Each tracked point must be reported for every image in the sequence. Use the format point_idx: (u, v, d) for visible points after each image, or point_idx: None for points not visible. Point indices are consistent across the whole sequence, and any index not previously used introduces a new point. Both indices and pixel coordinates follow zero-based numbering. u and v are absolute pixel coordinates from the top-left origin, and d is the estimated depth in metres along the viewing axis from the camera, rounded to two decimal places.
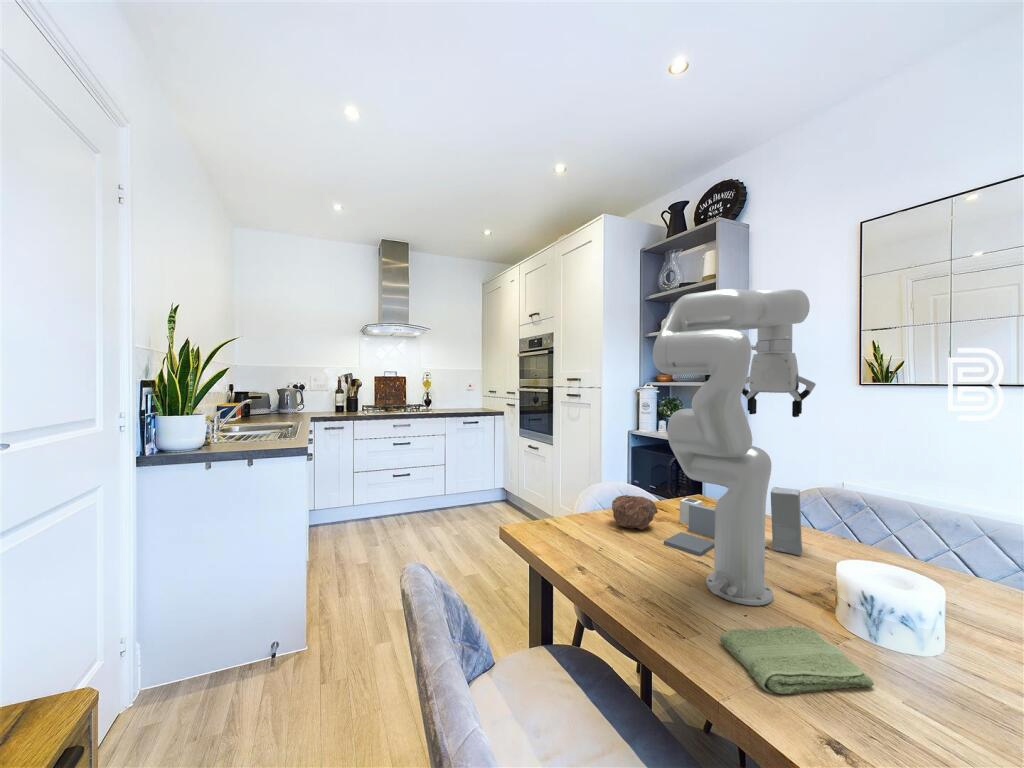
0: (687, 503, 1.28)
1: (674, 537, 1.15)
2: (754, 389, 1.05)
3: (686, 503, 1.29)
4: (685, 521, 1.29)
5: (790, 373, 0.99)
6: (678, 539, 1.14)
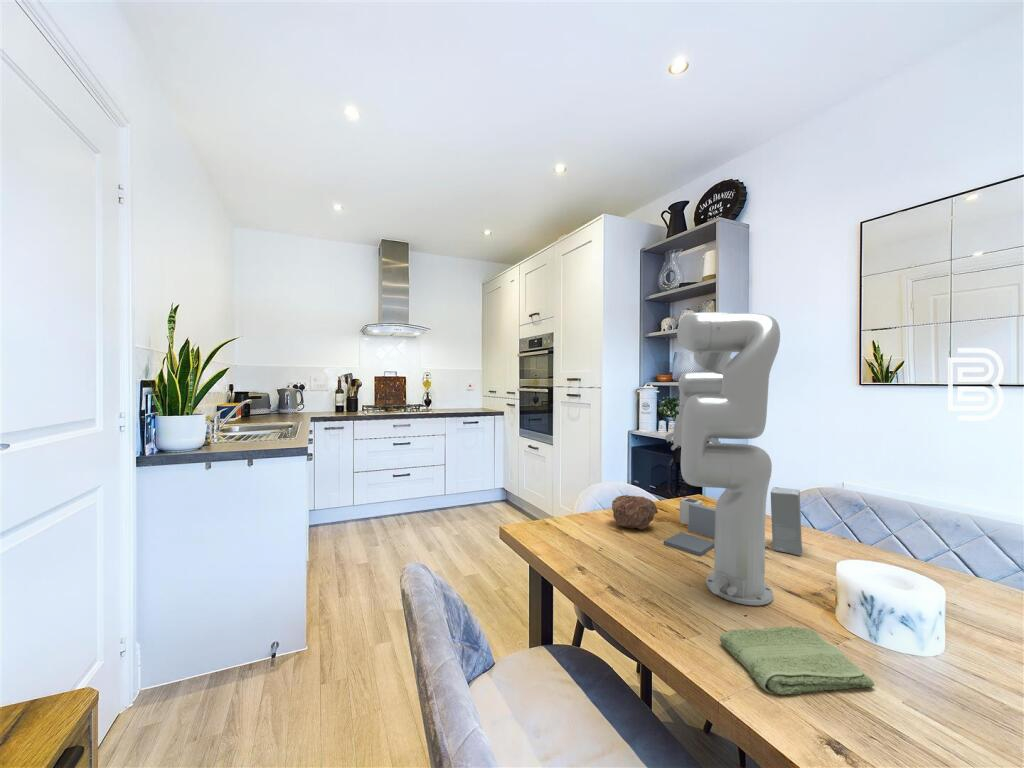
0: (687, 503, 1.28)
1: (674, 537, 1.15)
2: (676, 443, 1.31)
3: (686, 503, 1.29)
4: (685, 521, 1.29)
5: None
6: (678, 539, 1.14)
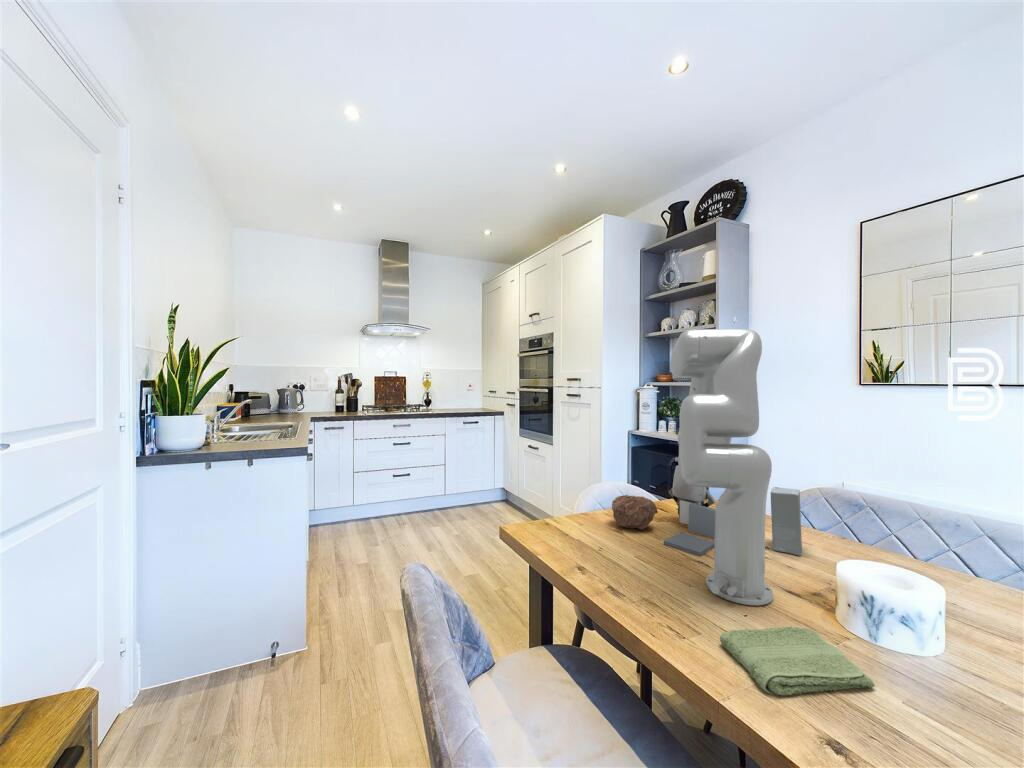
0: (687, 503, 1.28)
1: (674, 537, 1.15)
2: (676, 495, 1.31)
3: (686, 503, 1.29)
4: (685, 521, 1.29)
5: (701, 487, 1.25)
6: (678, 539, 1.14)
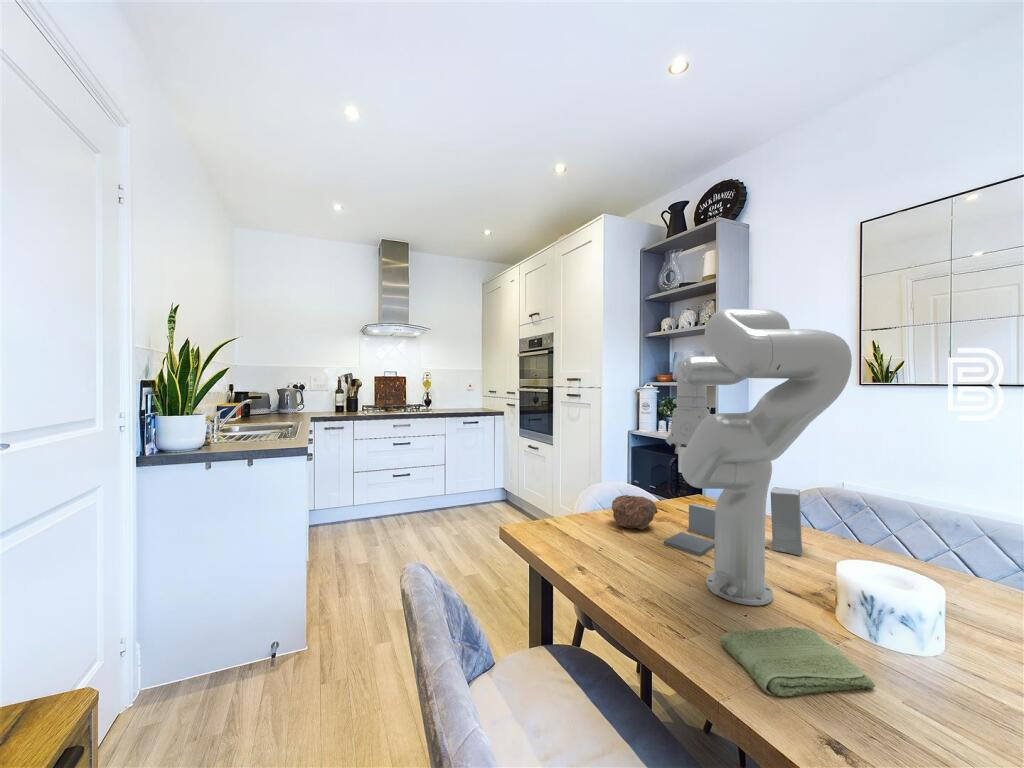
0: None
1: (674, 537, 1.15)
2: (674, 441, 1.13)
3: None
4: None
5: None
6: (678, 539, 1.14)
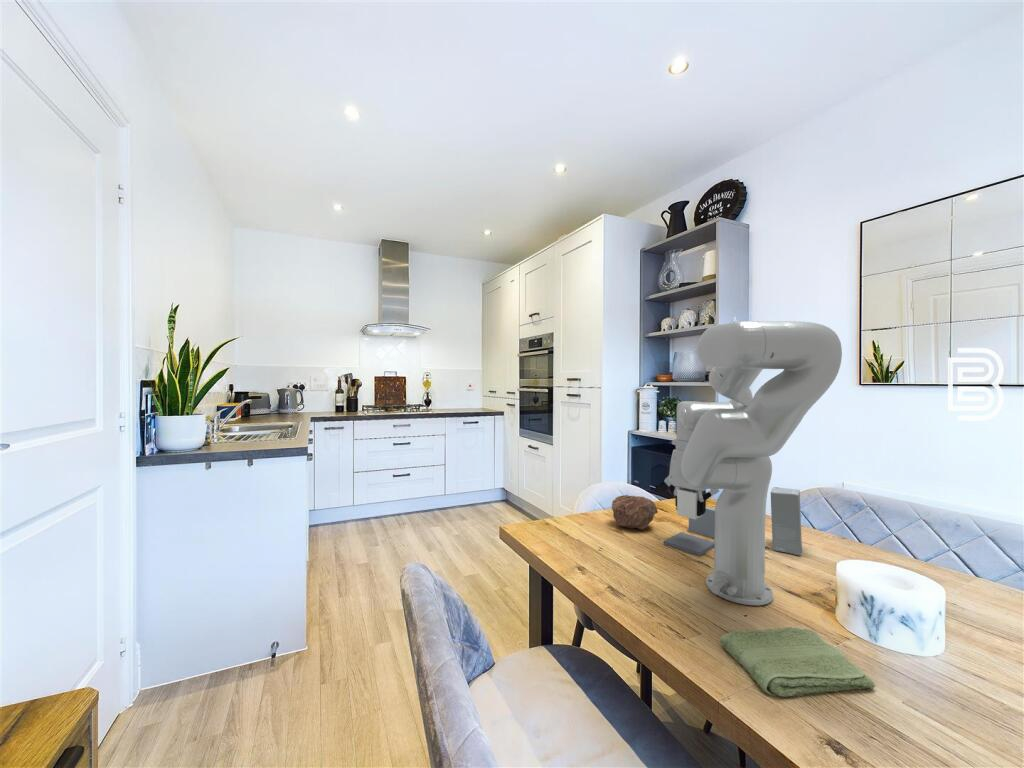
0: (686, 492, 1.10)
1: (674, 537, 1.15)
2: (673, 483, 1.13)
3: (685, 492, 1.11)
4: (683, 513, 1.11)
5: None
6: (678, 539, 1.14)
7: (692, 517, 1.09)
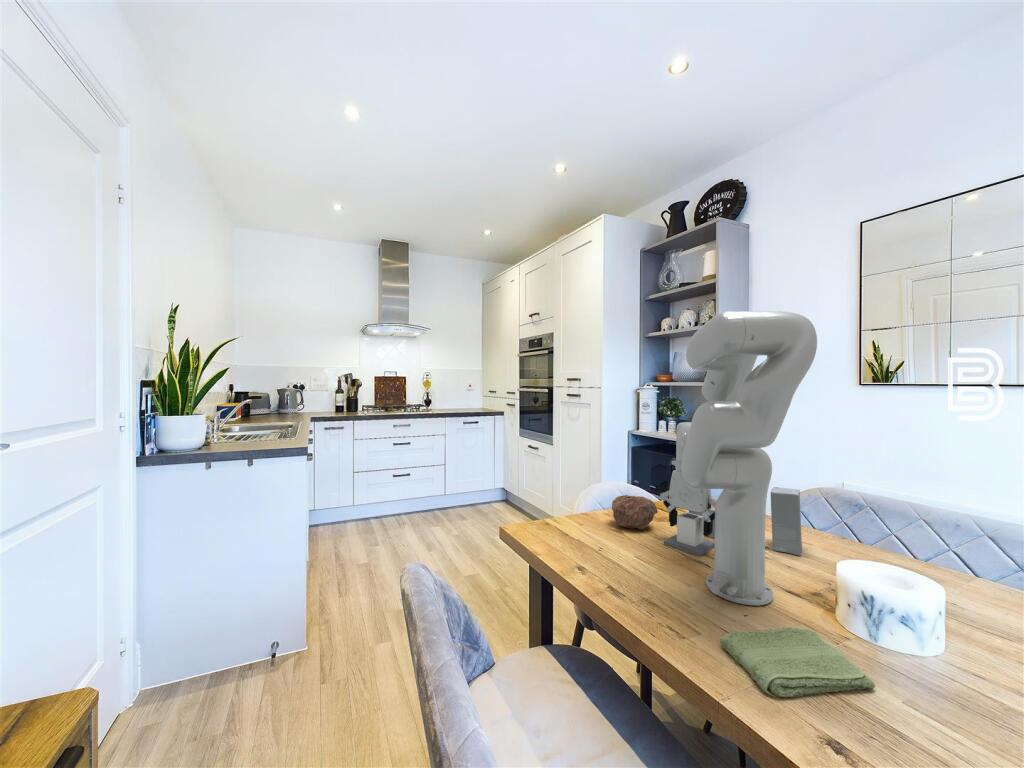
0: (686, 519, 1.10)
1: (674, 537, 1.15)
2: (672, 504, 1.13)
3: (685, 519, 1.11)
4: (683, 540, 1.11)
5: (702, 496, 1.07)
6: None
7: (692, 544, 1.09)
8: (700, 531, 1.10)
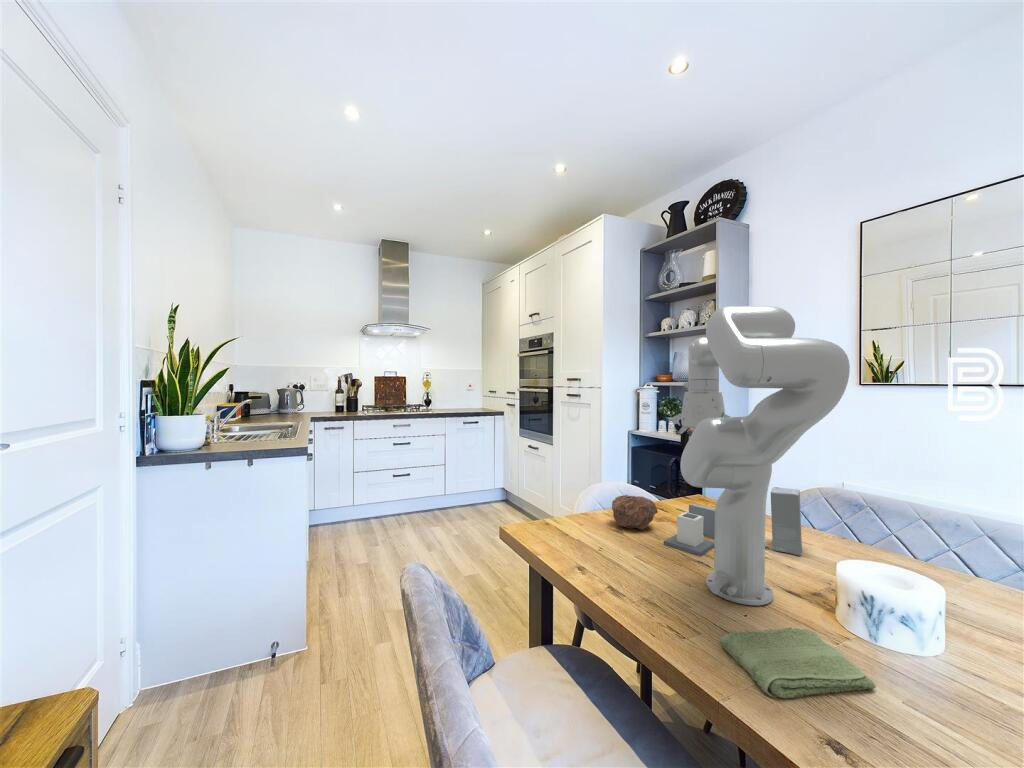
0: (686, 519, 1.10)
1: (674, 537, 1.15)
2: (685, 425, 1.11)
3: (685, 519, 1.11)
4: (683, 540, 1.11)
5: (716, 411, 1.05)
6: None
7: (692, 544, 1.09)
8: (700, 531, 1.10)
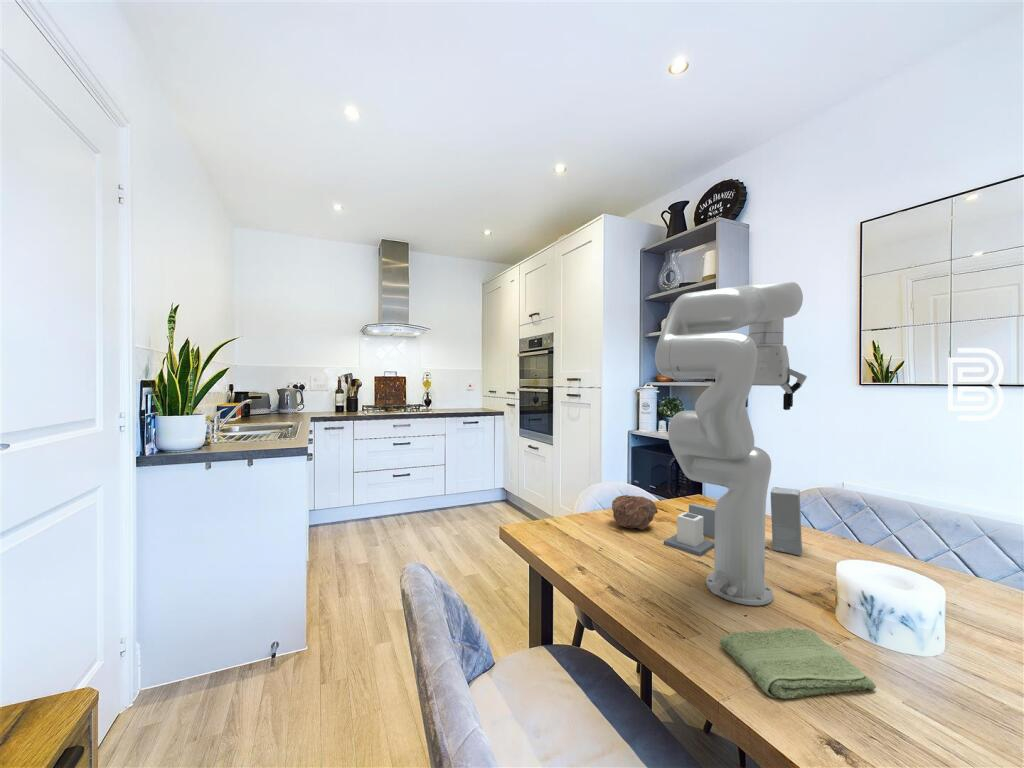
0: (686, 519, 1.10)
1: (674, 537, 1.15)
2: None
3: (685, 519, 1.11)
4: (683, 540, 1.11)
5: (781, 366, 0.99)
6: None
7: (692, 544, 1.09)
8: (700, 531, 1.10)
